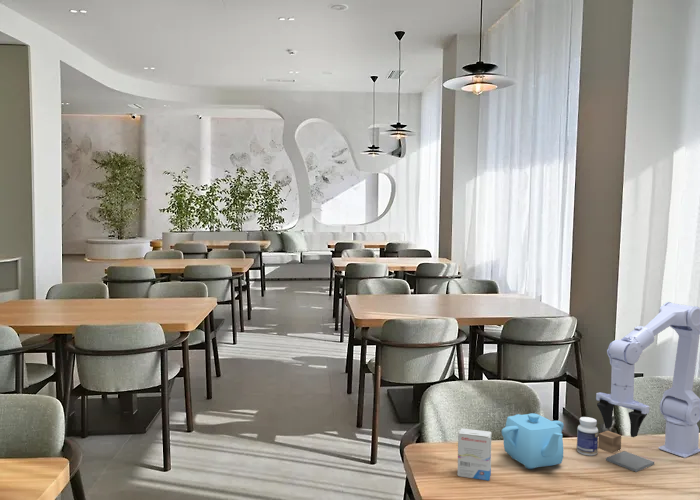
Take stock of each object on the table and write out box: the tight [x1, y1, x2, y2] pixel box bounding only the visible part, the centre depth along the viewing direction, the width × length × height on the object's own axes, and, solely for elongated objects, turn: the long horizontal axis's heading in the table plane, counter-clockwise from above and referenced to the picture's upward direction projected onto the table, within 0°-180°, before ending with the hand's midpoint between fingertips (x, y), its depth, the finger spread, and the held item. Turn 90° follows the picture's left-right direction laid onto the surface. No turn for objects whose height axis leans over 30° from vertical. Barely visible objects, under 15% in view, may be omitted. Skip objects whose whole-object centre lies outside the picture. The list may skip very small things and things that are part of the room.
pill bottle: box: [576, 416, 599, 457], centre depth 174 cm, size 6×6×10 cm
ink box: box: [457, 427, 492, 482], centre depth 159 cm, size 9×5×12 cm, turn 71°
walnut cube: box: [598, 430, 622, 454], centre depth 177 cm, size 4×4×4 cm
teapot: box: [501, 412, 565, 470], centre depth 167 cm, size 18×16×14 cm
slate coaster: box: [605, 450, 655, 473], centre depth 167 cm, size 9×9×1 cm
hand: (620, 431), depth 164 cm, fingers open, 7 cm apart
